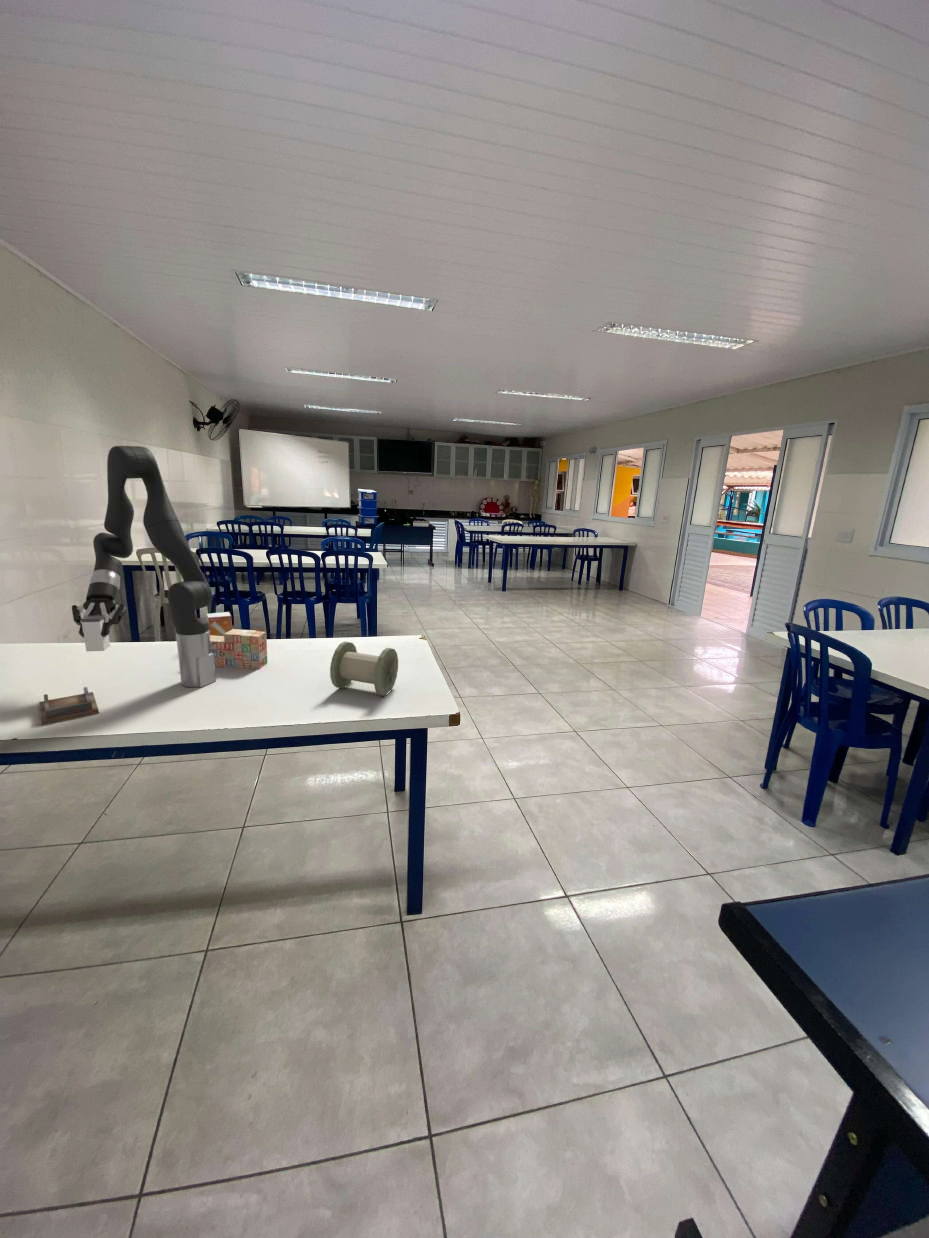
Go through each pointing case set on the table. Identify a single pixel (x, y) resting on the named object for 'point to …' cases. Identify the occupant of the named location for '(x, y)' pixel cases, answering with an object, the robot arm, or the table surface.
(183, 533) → the robot arm
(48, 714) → the holder board
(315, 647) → the table surface
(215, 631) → the small box
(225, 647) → the stack of blocks
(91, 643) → the connector plug
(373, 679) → the spool
